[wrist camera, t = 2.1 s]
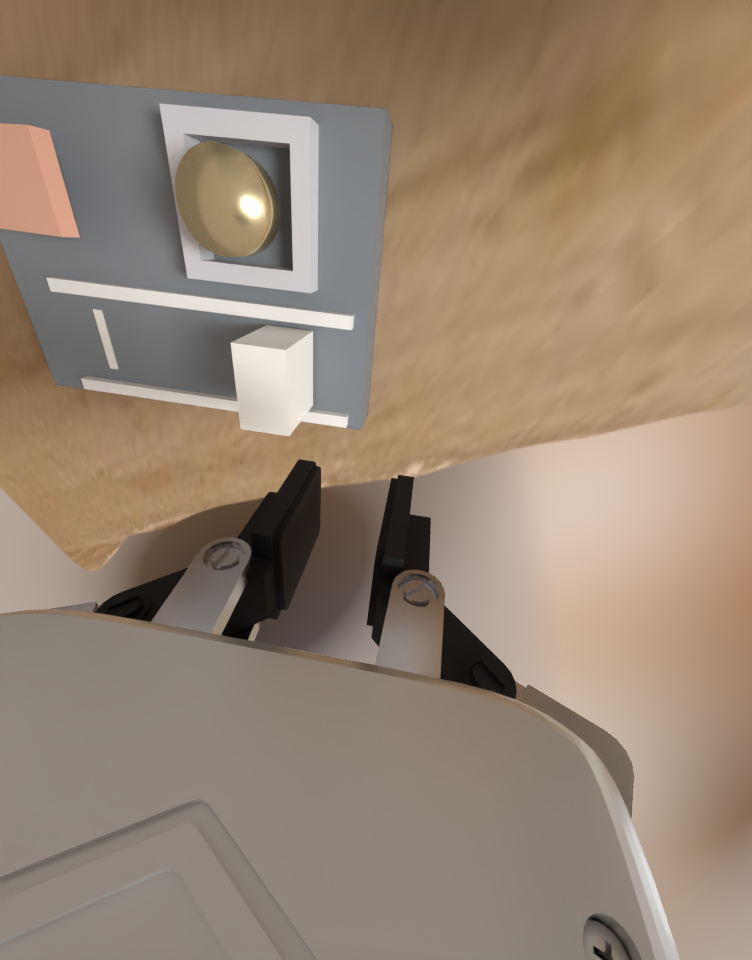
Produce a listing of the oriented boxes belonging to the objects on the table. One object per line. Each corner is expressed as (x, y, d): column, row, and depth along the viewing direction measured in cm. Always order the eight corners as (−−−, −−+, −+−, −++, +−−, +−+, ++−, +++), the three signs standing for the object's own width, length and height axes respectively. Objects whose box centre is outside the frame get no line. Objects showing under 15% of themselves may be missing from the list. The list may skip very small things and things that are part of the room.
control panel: (392, 125, 20) (381, 98, 17) (367, 414, 30) (357, 439, 26) (-9, 89, 22) (-101, 58, 18) (86, 373, 31) (38, 391, 28)
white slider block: (313, 330, 24) (285, 350, 19) (313, 405, 26) (289, 436, 22) (267, 325, 24) (230, 342, 20) (271, 399, 27) (240, 428, 22)
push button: (277, 154, 18) (261, 146, 16) (281, 260, 20) (268, 262, 19) (190, 146, 18) (165, 136, 17) (205, 251, 21) (184, 252, 19)
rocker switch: (49, 130, 18) (27, 124, 17) (80, 237, 21) (61, 236, 20) (-39, 125, 20) (-63, 119, 19) (0, 226, 22) (-20, 225, 21)
